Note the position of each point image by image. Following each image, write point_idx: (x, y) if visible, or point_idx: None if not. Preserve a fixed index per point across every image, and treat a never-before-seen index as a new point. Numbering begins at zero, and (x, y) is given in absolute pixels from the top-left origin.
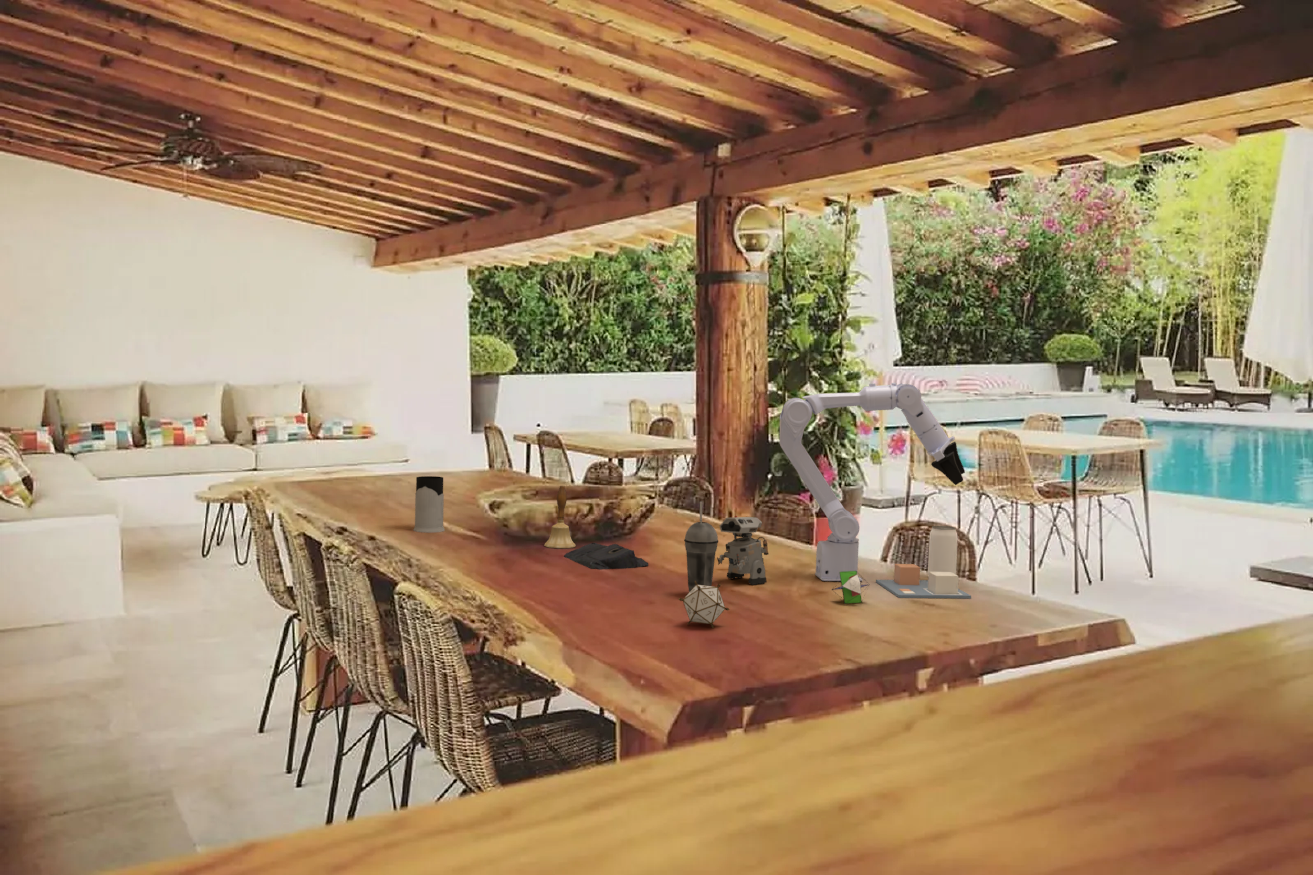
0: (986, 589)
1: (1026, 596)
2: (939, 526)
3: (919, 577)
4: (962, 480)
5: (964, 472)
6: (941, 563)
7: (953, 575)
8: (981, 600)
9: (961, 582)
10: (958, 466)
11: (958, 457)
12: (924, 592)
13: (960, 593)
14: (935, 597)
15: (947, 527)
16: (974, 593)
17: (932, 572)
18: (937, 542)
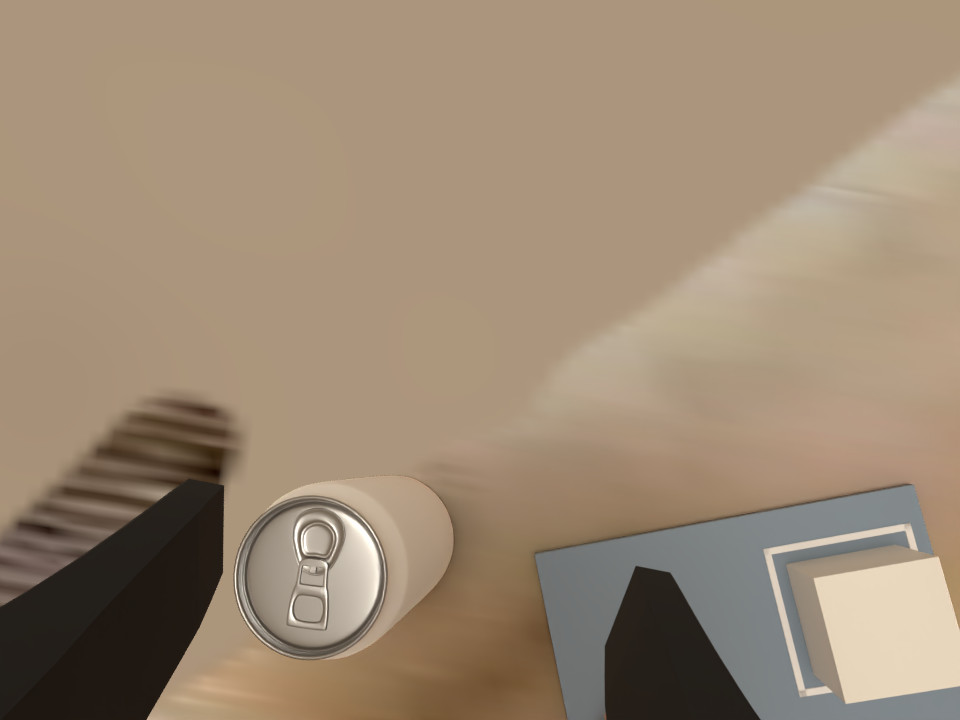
0: (643, 376)
1: (766, 227)
2: (241, 594)
3: None
4: (676, 583)
5: (220, 490)
6: (440, 563)
7: (929, 581)
8: (935, 442)
9: (494, 463)
10: (162, 592)
11: (82, 639)
12: (901, 705)
13: (883, 529)
14: None
15: (250, 541)
16: (763, 447)
17: (866, 685)
18: (405, 610)
